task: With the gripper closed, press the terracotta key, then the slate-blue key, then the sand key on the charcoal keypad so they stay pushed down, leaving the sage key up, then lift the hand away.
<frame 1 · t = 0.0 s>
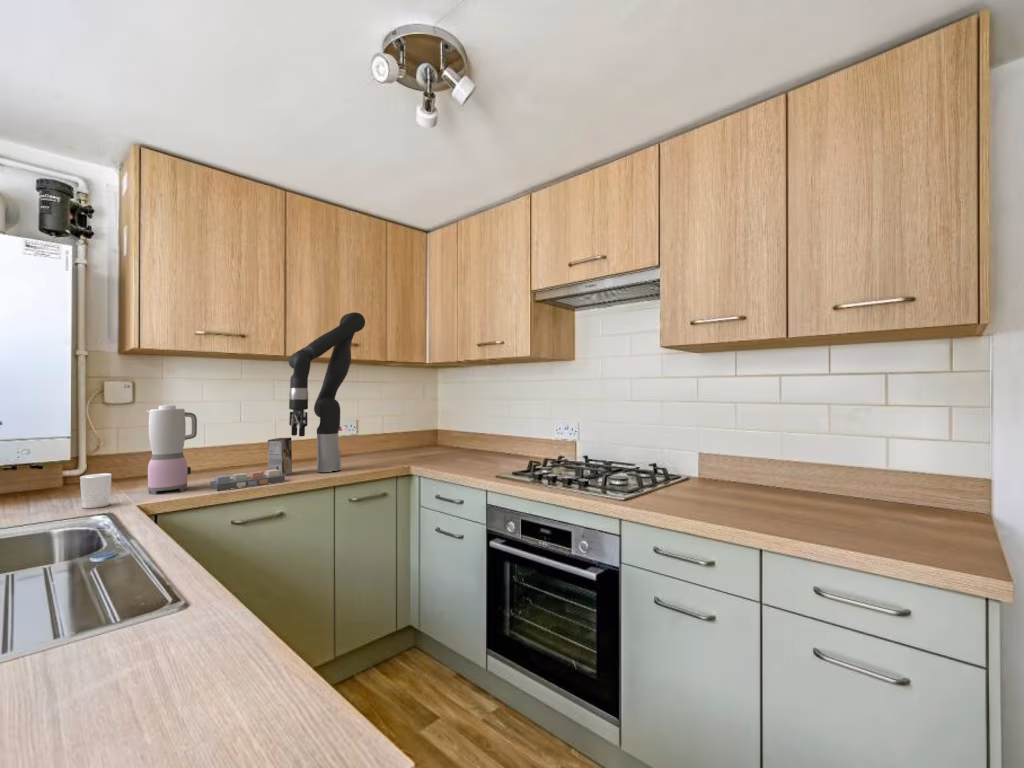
hand: (297, 435, 213), 17 cm above the countertop, tool pointing down, fingers open, 8 cm apart
keypad: (248, 484, 193), on the countertop
slate key: (222, 480, 187), point 3 cm above the countertop, slide at 0.0 cm
coffee box: (280, 475, 216), on the countertop
sage key: (239, 478, 191), point 3 cm above the countertop, slide at 0.0 cm
terracotta key: (256, 476, 196), point 3 cm above the countertop, slide at 0.0 cm
sand key: (272, 474, 200), point 3 cm above the countertop, slide at 0.0 cm
white cup: (96, 506, 160), on the countertop
blender: (173, 490, 185), on the countertop
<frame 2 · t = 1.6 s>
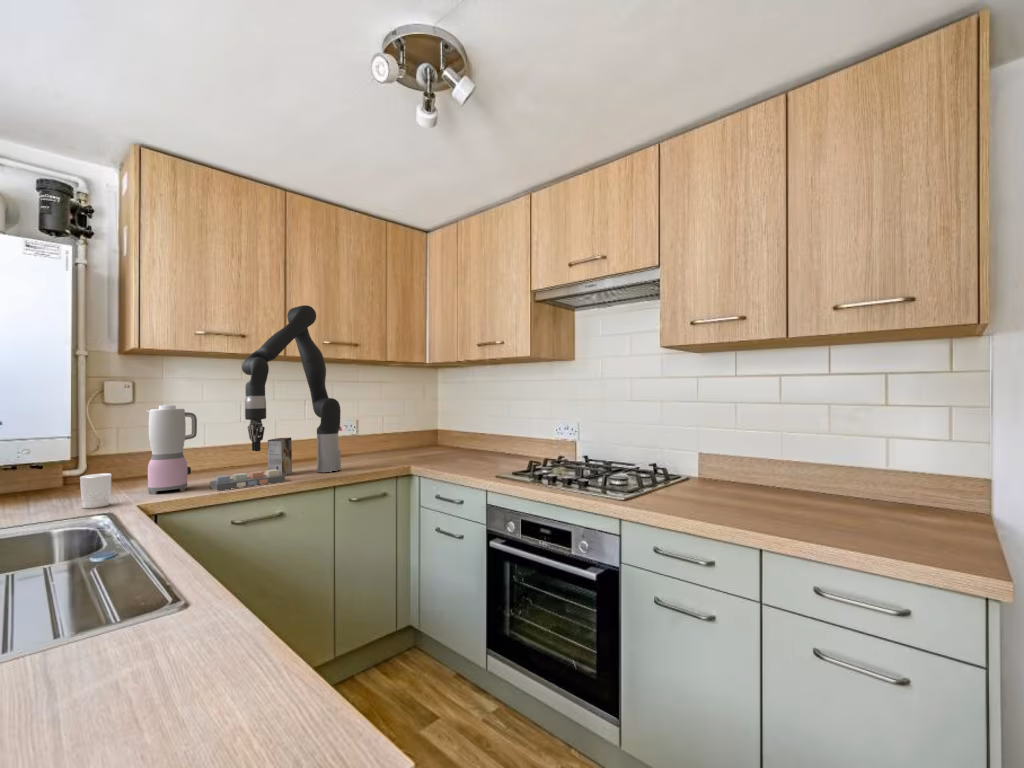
hand: (256, 450, 196), 13 cm above the countertop, tool pointing down, fingers closed
nothing on the countertop moved.
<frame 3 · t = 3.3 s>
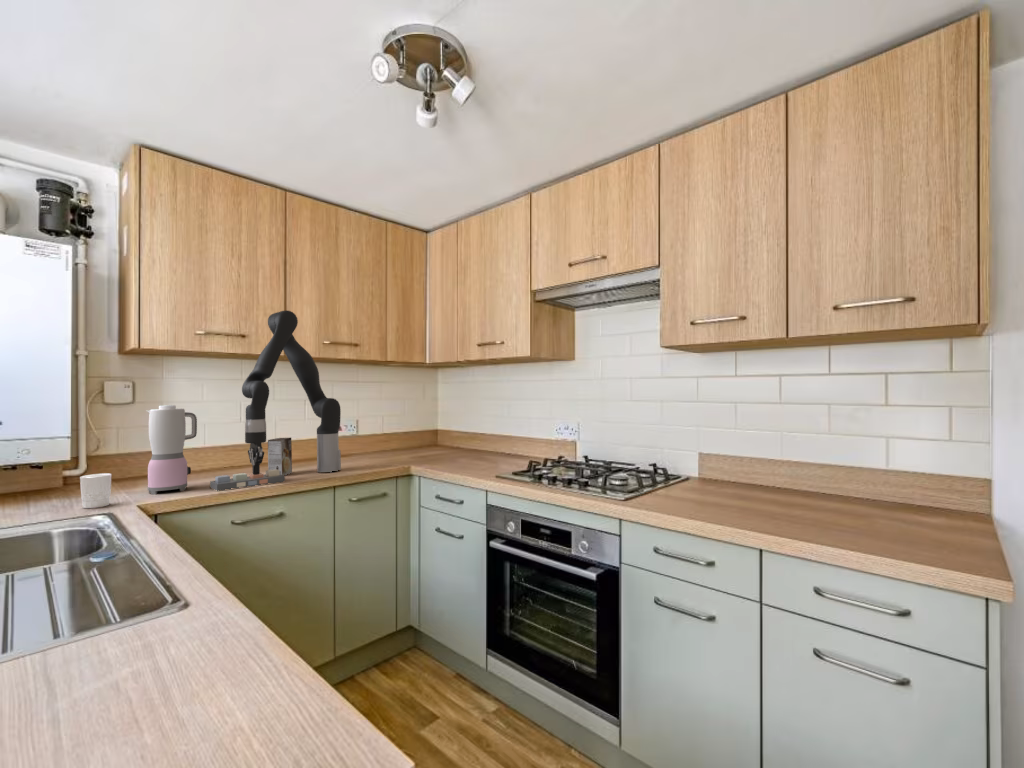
hand: (256, 474, 196), 4 cm above the countertop, tool pointing down, fingers closed
terracotta key: (256, 478, 196), point 2 cm above the countertop, slide at 0.8 cm, touching gripper
everything else where it was.
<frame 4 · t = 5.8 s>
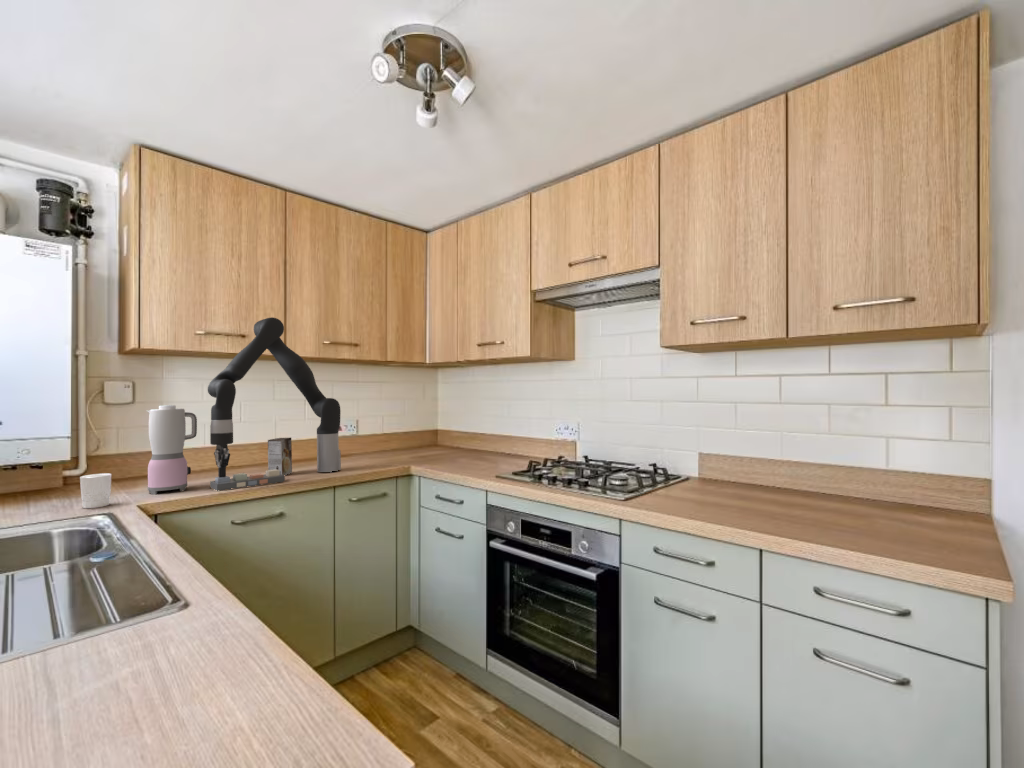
hand: (222, 477, 187), 4 cm above the countertop, tool pointing down, fingers closed
slate key: (222, 481, 187), point 3 cm above the countertop, slide at 0.3 cm, touching gripper
terracotta key: (256, 478, 196), point 2 cm above the countertop, slide at 1.0 cm
everything else where it was.
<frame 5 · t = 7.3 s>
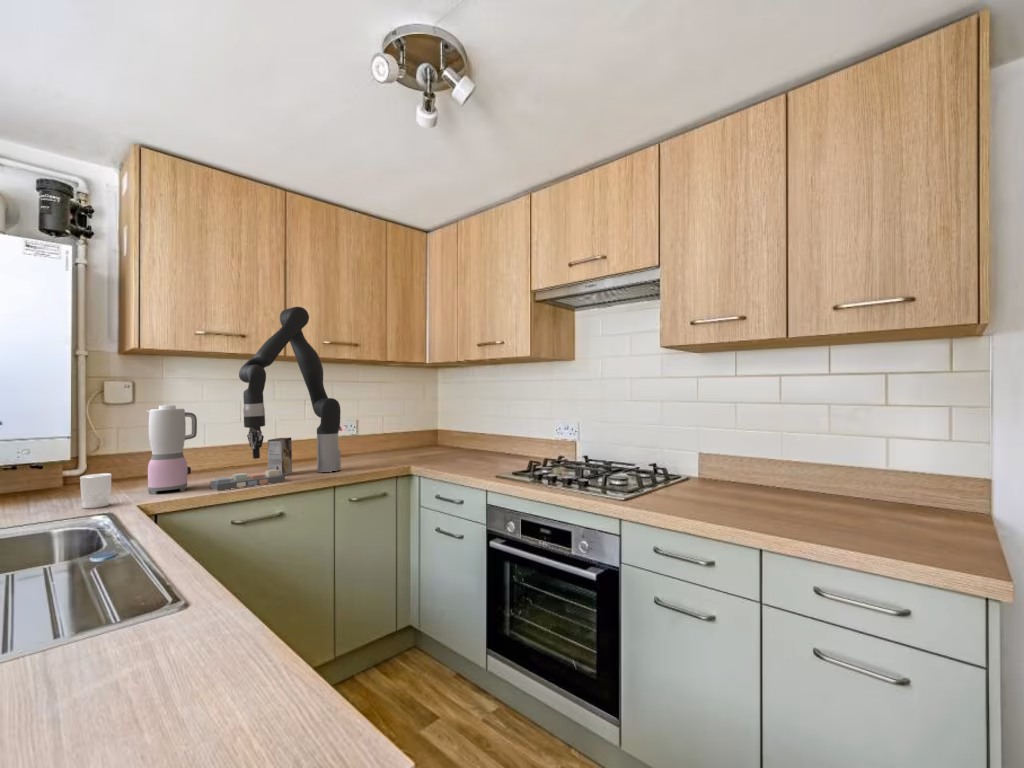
hand: (256, 458, 196), 10 cm above the countertop, tool pointing down, fingers closed
slate key: (222, 482, 187), point 2 cm above the countertop, slide at 1.0 cm
everything else where it was.
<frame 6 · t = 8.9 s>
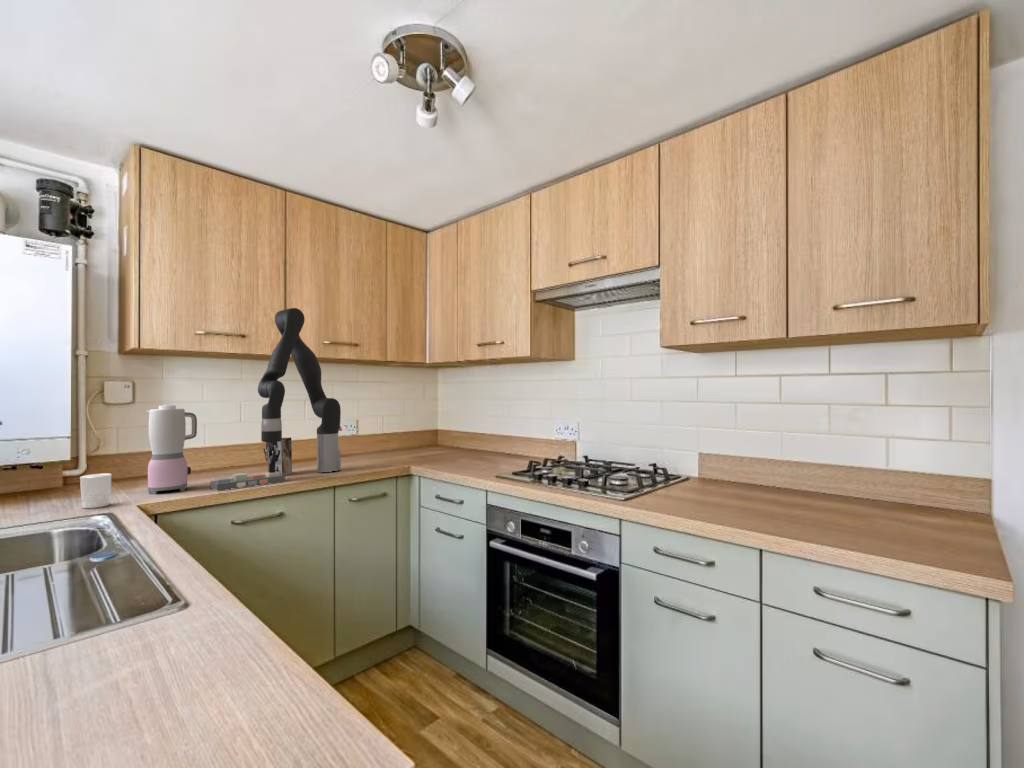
hand: (271, 472, 200), 4 cm above the countertop, tool pointing down, fingers closed
sand key: (272, 476, 200), point 2 cm above the countertop, slide at 0.8 cm, touching gripper
everything else where it was.
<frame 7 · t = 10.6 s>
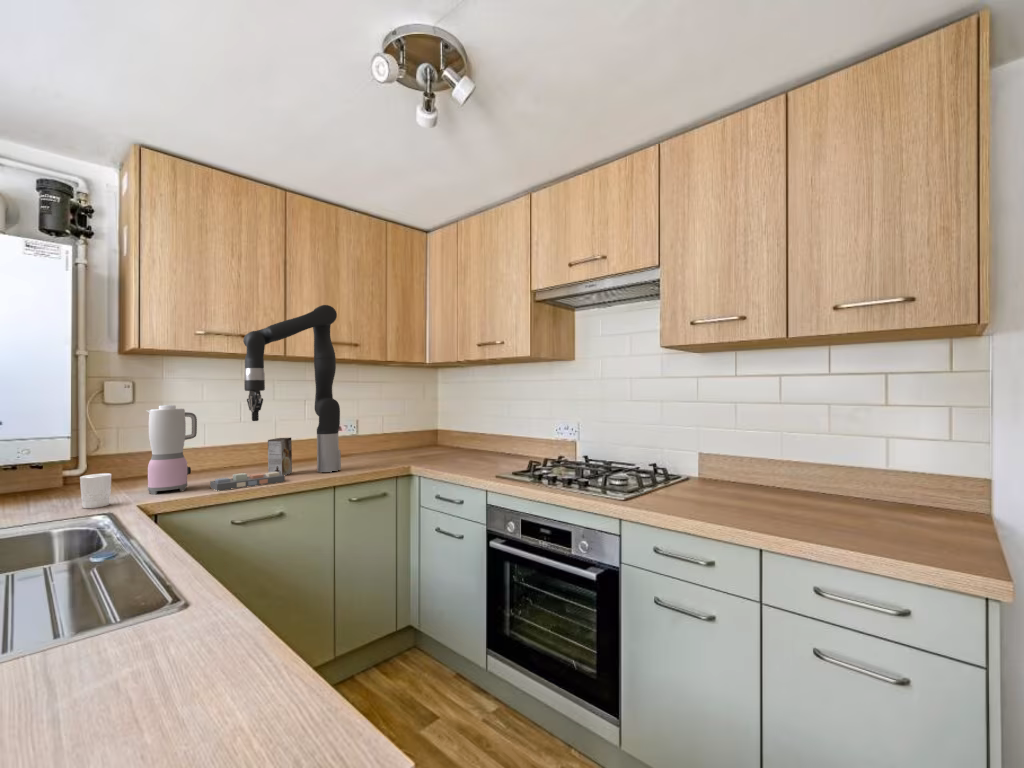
hand: (255, 420, 205), 25 cm above the countertop, tool pointing down, fingers closed
sand key: (272, 476, 200), point 2 cm above the countertop, slide at 1.0 cm
everything else where it was.
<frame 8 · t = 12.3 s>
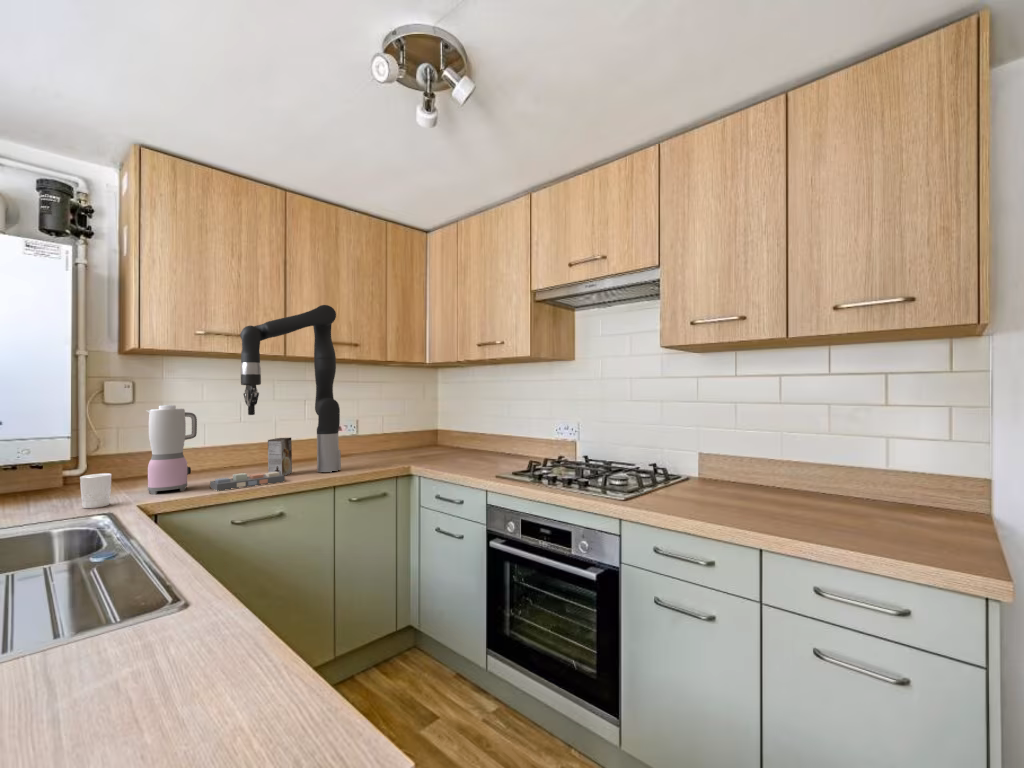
hand: (251, 414, 206), 27 cm above the countertop, tool pointing down, fingers closed
nothing on the countertop moved.
at the end: terracotta key slide at 1.0 cm; slate key slide at 1.0 cm; sand key slide at 1.0 cm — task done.
